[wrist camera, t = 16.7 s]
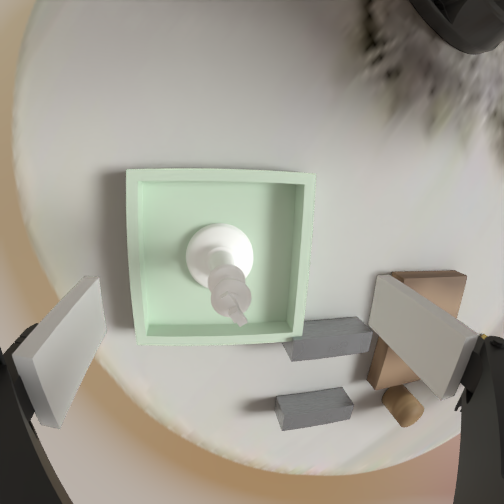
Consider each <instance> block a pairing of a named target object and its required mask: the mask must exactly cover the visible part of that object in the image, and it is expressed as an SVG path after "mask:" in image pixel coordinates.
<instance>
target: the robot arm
mask: <svg viewBox="0 0 504 504" xmlns="http://www.w3.org/2000/svg"><path fill="white" fill-rule="evenodd" d="M410 1H411V2H412V4H413V5H414V7H415V8H416V10H417V11H418V12H419V13H420V15H421V16H422V17H423V18H424V20H425V21H426V22H427V23H428V24H429V25H430V26H431V27H432V28H433V29H434V30H435V31H436V32H437V33H438V34H439V35H440V36H441V37H442V38H443V39H444V40H446V41H447V42H448V43H450V44H451V45H452V46H454V47H455V48H457V49H459V50H461V51H463V52H465V53H468V54H481V53H484V52H488V51H491V50H493V49H495V48H496V47H497V46H498V45H499V44H500V43H501V42H502V41H503V40H504V0H410ZM368 325H369V326H370V327H371V328H372V329H373V330H374V331H375V332H376V333H377V334H378V335H379V336H380V337H381V338H382V339H383V340H384V341H385V342H386V343H387V344H388V345H389V346H390V348H391V349H392V350H393V351H394V352H395V353H396V354H397V355H398V356H399V357H400V358H401V359H402V360H403V361H404V362H405V363H406V364H407V365H408V366H409V367H410V368H411V369H412V370H413V371H414V372H415V374H416V375H417V376H418V377H419V378H420V379H421V380H422V381H423V382H424V383H425V384H426V385H427V386H428V387H429V388H430V389H431V390H432V392H433V393H434V394H435V395H436V396H437V397H438V398H439V399H440V400H444V399H447V398H450V397H452V396H454V395H455V393H456V391H457V389H458V387H459V384H460V383H461V384H462V385H463V386H464V387H465V388H464V391H463V393H462V395H461V397H460V399H459V401H458V403H457V405H456V407H455V410H454V411H457V409H458V408H459V407H460V406H462V409H461V410H460V412H462V414H461V442H460V455H459V465H458V474H457V482H456V489H455V496H454V502H453V504H504V339H503V338H500V337H496V336H488V337H486V338H485V339H483V338H481V337H480V336H479V334H478V333H476V332H475V331H473V330H472V329H470V328H469V327H468V326H466V325H465V324H463V323H462V322H460V321H459V320H458V319H456V318H455V317H453V316H452V315H450V314H449V313H447V312H446V311H444V310H443V309H441V308H440V307H438V306H437V305H435V304H434V303H432V302H431V301H429V300H428V299H426V298H425V297H423V296H422V295H420V294H419V293H417V292H416V291H414V290H413V289H411V288H410V287H408V286H406V285H405V284H403V283H402V282H400V281H399V280H397V279H396V278H394V277H392V276H391V275H377V280H376V286H375V292H374V297H373V303H372V308H371V313H370V318H369V323H368ZM106 332H107V328H106V322H105V316H104V310H103V303H102V295H101V288H100V279H99V277H87V276H84V277H83V278H82V279H81V280H80V281H79V282H78V283H77V284H76V285H75V286H74V287H73V288H72V289H71V290H70V291H69V292H68V293H67V294H66V295H65V296H64V297H63V298H62V299H61V301H60V302H59V303H58V304H57V305H56V306H55V307H54V308H53V309H52V310H51V311H50V312H49V313H48V314H47V315H46V316H45V318H44V319H43V320H42V321H41V322H40V323H39V324H38V323H36V324H34V325H32V326H30V327H29V328H27V329H26V330H25V331H24V332H23V333H22V334H21V335H20V337H19V338H18V339H17V340H16V341H15V343H13V344H12V345H11V346H10V348H9V349H8V350H7V351H6V352H5V353H4V354H2V351H1V348H0V504H73V502H72V501H71V499H70V498H69V496H68V494H67V493H66V491H65V489H64V487H63V486H62V484H61V482H60V480H59V478H58V477H57V475H56V473H55V471H54V469H53V467H52V465H51V463H50V461H49V459H48V457H47V455H46V453H45V451H44V449H43V447H42V445H41V443H40V441H39V438H38V436H37V433H36V431H35V429H34V426H33V424H32V423H31V421H30V420H31V418H32V416H33V414H34V412H35V414H36V416H37V418H38V420H39V422H40V424H41V425H44V426H48V427H53V428H58V429H60V428H61V426H62V423H63V421H64V419H65V417H66V414H67V412H68V410H69V407H70V405H71V403H72V401H73V399H74V397H75V394H76V392H77V390H78V388H79V386H80V384H81V382H82V380H83V378H84V375H85V373H86V371H87V369H88V367H89V365H90V363H91V361H92V359H93V357H94V355H95V353H96V351H97V349H98V347H99V345H100V344H101V342H102V340H103V338H104V336H105V334H106Z"/></svg>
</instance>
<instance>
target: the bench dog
mask: <svg viewBox="0 0 504 504" xmlns="http://www.w3.org/2000/svg"><path fill="white" fill-rule="evenodd" d="M382 402H383V404H384V405H385V406H386V408H387V409H388V410H389V412H390V413H391V414H392V415H393V417H394V418H395V419H396V420H397V422H398V423H399V424H400V426H401V427H408V426H410V425H412V424H414V423H415V422H416V421H417V420H418V419H419V418H420V417H421V416H422V414H423V412H424V407H423V406H422V405H421V404H420V402H419V401H418V400H417V399H416V398H415V397H414V396H413V395H412V394H411V393H410V392H409V390H408V389H407V388H406V387H405V386H404V385H403V384H401V385H397V386H393V387H390V388H389V389H388V390H387V391H386V392H385V393H384V395H383V397H382Z"/></svg>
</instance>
